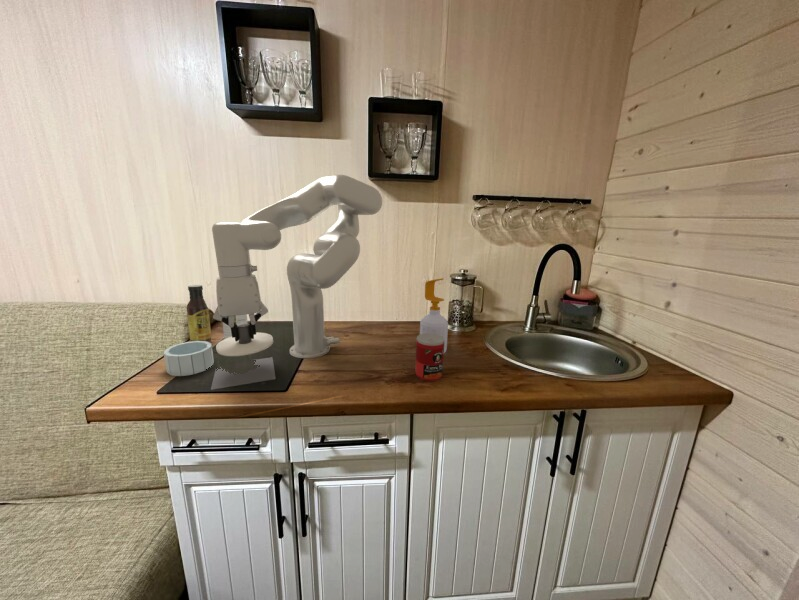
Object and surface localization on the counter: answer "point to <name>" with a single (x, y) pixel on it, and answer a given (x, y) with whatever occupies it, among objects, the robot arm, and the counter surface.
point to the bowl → (188, 358)
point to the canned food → (429, 356)
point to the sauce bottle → (198, 315)
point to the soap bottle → (434, 315)
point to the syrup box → (238, 320)
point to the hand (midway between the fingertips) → (244, 337)
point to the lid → (244, 343)
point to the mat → (245, 375)
